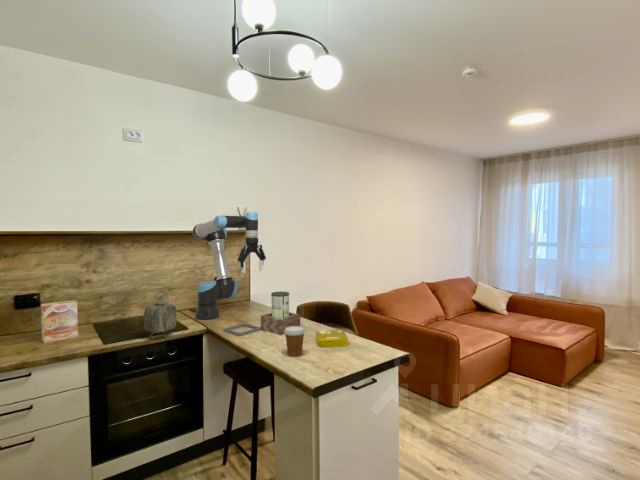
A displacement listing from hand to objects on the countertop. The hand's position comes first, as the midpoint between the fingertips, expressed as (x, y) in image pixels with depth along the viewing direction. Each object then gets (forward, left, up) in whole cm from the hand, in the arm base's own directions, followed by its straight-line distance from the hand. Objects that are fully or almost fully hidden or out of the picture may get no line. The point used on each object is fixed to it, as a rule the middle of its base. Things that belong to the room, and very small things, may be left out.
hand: (252, 271), depth 217 cm
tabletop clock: (-15, -50, -32) cm, 61 cm away
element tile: (+61, +1, -32) cm, 69 cm away
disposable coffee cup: (+59, -23, -32) cm, 71 cm away
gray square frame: (+9, -15, -32) cm, 36 cm away
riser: (+24, +1, -32) cm, 40 cm away
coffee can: (+24, +1, -25) cm, 35 cm away
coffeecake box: (-55, -86, -32) cm, 107 cm away
